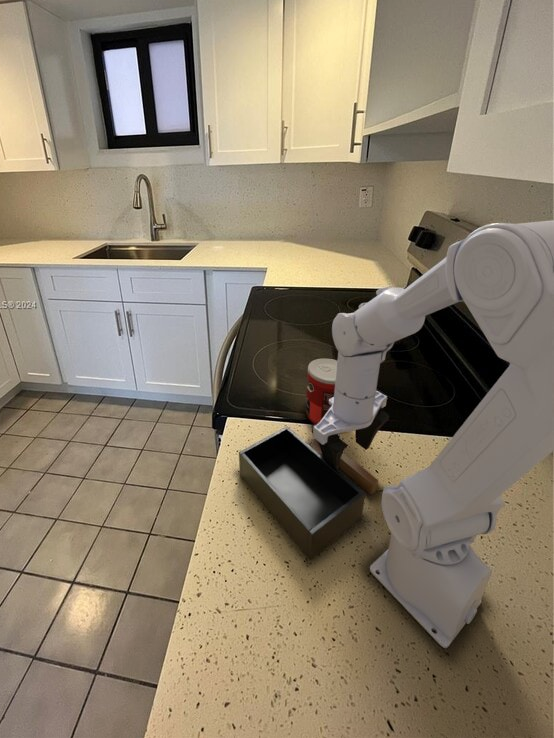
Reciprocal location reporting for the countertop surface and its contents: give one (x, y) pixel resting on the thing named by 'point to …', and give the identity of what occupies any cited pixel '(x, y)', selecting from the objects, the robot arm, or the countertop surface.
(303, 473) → the tin
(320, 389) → the canned food
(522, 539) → the countertop surface
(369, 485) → the tan long slender bar
